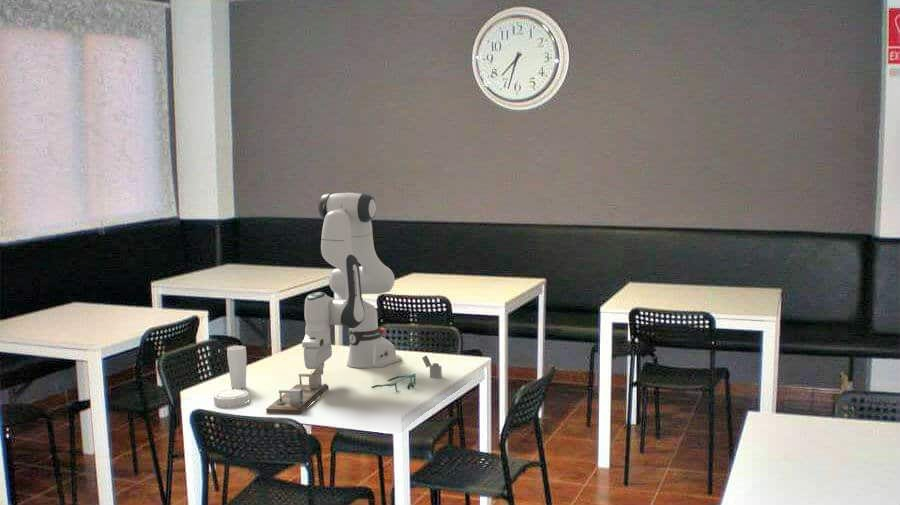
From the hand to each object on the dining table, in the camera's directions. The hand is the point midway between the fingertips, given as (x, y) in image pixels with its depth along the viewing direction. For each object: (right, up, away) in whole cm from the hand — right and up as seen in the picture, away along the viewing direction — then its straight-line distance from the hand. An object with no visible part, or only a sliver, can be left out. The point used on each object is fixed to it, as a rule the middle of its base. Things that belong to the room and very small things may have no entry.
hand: (319, 375), depth 359 cm
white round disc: (-29, -8, -14) cm, 33 cm away
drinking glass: (-30, -5, +4) cm, 31 cm away
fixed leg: (-4, -6, -15) cm, 17 cm away
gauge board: (-5, -7, -15) cm, 17 cm away
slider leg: (-3, -4, -5) cm, 6 cm away
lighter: (+40, -2, +11) cm, 42 cm away
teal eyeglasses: (+27, -5, 0) cm, 28 cm away
